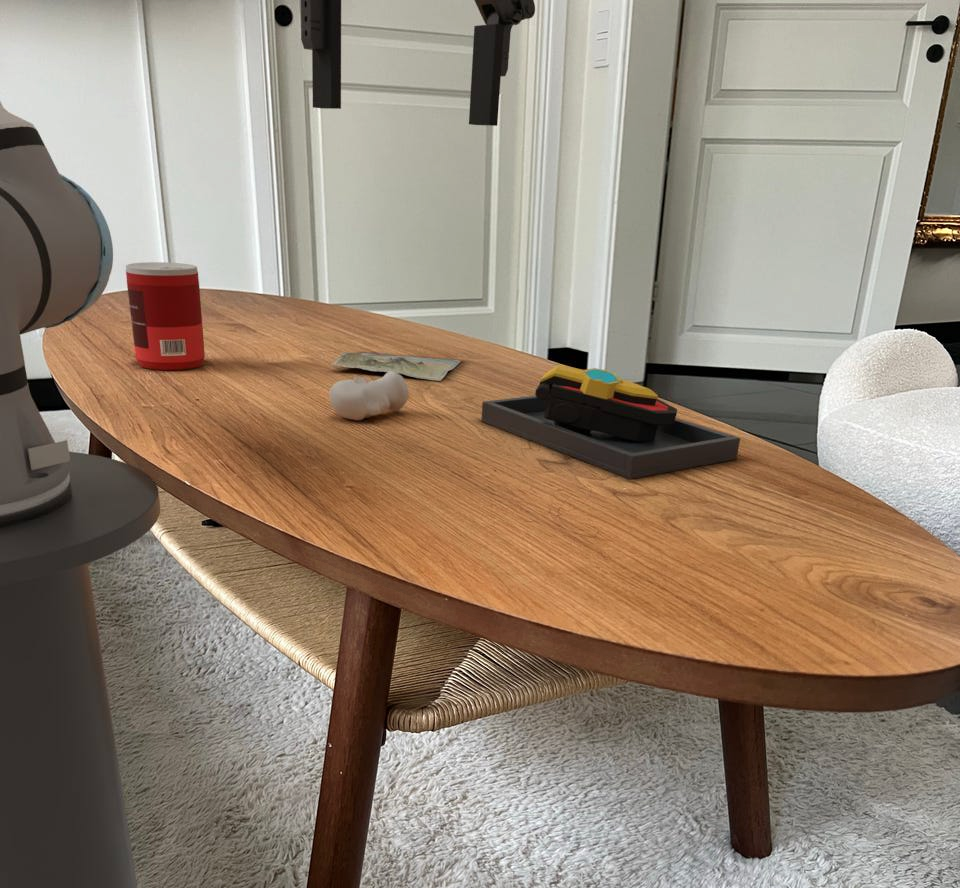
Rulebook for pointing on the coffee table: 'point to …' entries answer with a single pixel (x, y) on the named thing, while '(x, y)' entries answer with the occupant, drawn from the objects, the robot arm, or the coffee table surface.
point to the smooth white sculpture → (368, 396)
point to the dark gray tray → (614, 440)
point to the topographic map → (399, 364)
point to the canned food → (166, 315)
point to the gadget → (602, 404)
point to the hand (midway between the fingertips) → (409, 117)
